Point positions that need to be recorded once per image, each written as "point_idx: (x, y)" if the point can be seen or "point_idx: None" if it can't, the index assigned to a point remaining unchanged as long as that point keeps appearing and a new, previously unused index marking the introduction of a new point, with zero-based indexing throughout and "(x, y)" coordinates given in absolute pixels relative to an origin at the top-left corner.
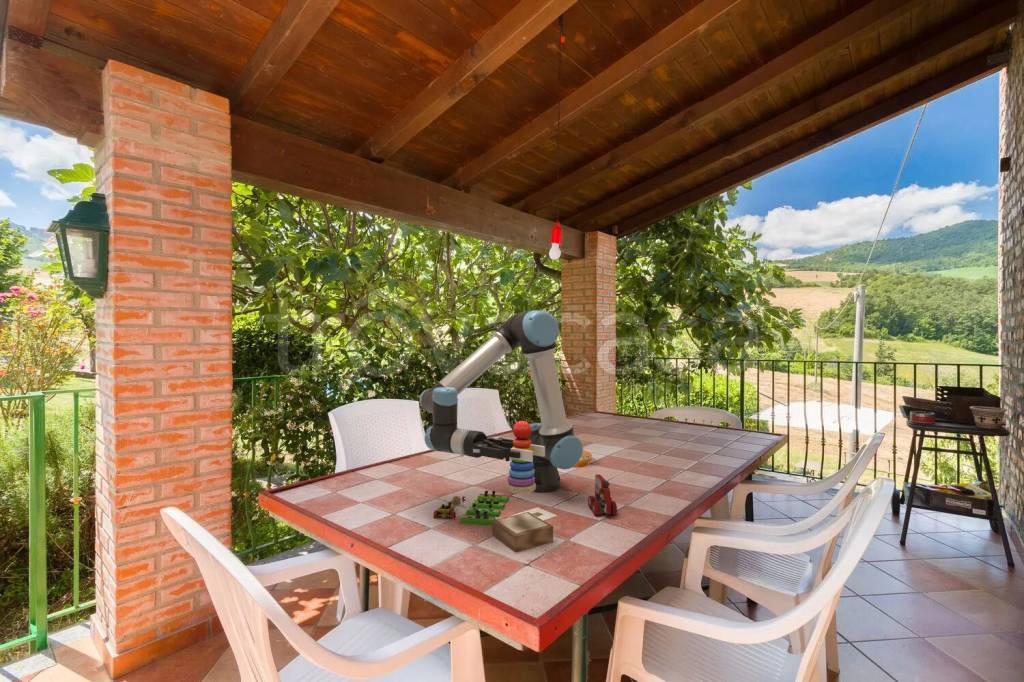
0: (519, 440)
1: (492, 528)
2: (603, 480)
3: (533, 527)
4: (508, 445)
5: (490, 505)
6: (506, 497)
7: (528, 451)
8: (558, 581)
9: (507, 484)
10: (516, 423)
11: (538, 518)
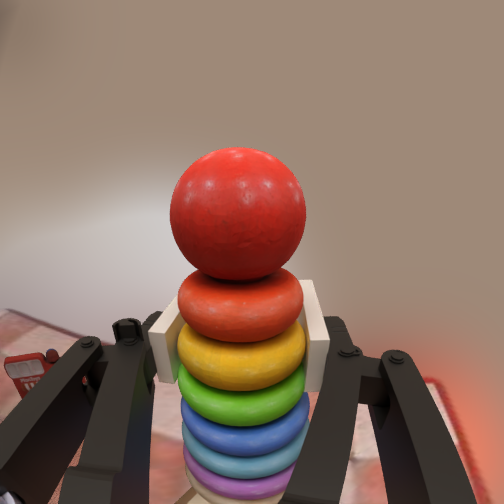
0: (287, 273)
1: None
2: (39, 355)
3: None
4: (136, 437)
5: None
6: None
7: (313, 286)
8: (359, 405)
9: None
10: (269, 161)
11: (192, 488)
